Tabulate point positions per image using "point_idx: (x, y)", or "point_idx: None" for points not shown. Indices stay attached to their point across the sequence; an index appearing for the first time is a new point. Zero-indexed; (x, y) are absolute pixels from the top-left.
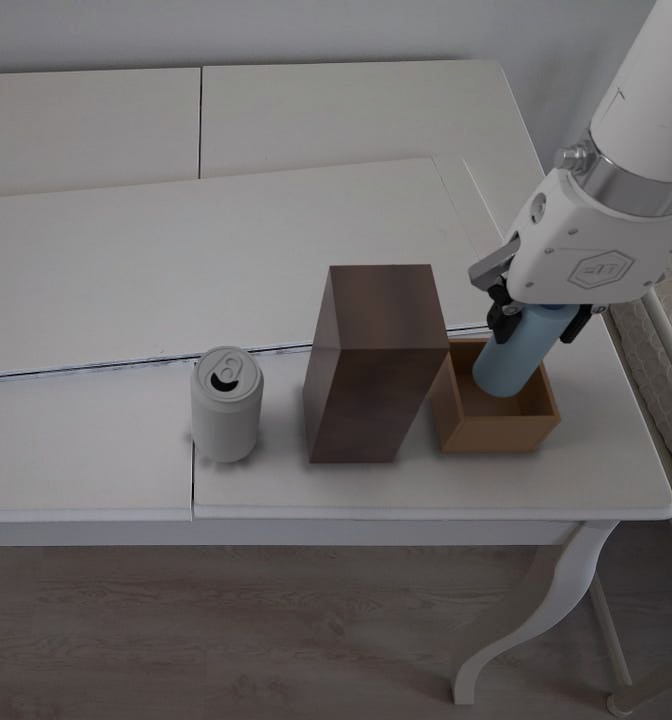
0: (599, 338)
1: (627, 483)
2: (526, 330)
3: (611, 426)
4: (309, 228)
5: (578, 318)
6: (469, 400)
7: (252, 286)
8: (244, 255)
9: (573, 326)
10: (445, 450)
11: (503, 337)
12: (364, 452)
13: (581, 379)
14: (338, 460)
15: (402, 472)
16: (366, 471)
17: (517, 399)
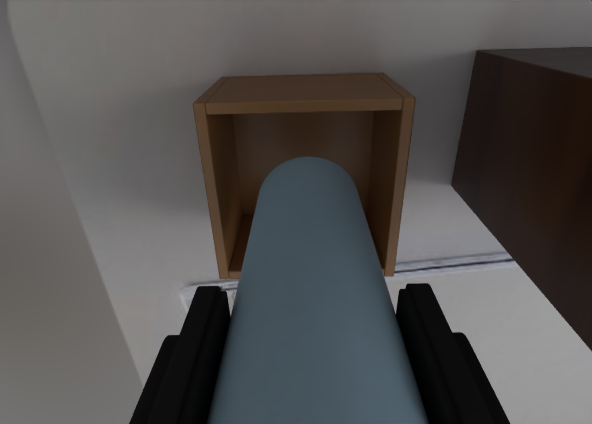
0: (102, 269)
1: (62, 12)
2: (387, 347)
3: (88, 127)
4: None
5: (195, 408)
6: None
7: (576, 338)
8: (567, 376)
9: (206, 362)
10: (379, 74)
11: (438, 311)
12: (562, 53)
13: (132, 207)
14: (584, 48)
15: (463, 29)
16: (528, 31)
17: (238, 171)
